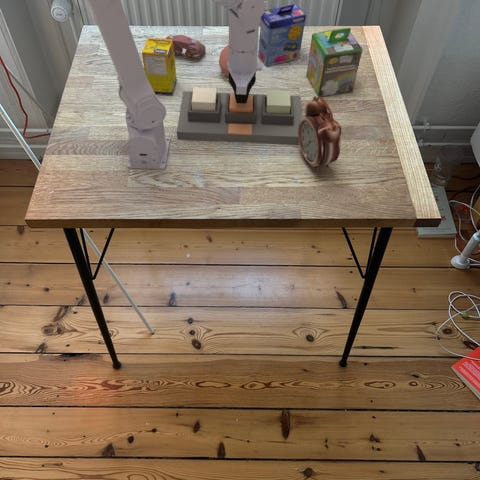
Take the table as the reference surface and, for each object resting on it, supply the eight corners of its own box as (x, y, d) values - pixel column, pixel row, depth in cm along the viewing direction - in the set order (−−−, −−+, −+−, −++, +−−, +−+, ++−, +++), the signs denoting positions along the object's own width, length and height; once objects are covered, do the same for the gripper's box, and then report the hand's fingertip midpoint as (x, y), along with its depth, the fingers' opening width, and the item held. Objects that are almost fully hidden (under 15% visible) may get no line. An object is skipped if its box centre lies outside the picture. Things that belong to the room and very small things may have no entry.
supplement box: (176, 80, 122) (173, 38, 114) (172, 95, 119) (168, 54, 110) (152, 78, 123) (147, 36, 114) (147, 93, 119) (141, 51, 110)
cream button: (215, 114, 110) (215, 102, 107) (192, 113, 110) (191, 101, 107) (216, 99, 113) (216, 88, 110) (194, 98, 113) (193, 87, 110)
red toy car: (166, 57, 131) (159, 42, 124) (171, 42, 131) (164, 25, 125) (202, 65, 129) (197, 49, 122) (207, 49, 130) (203, 33, 123)
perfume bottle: (230, 88, 121) (231, 42, 112) (212, 72, 125) (211, 26, 115) (256, 77, 124) (259, 31, 114) (238, 61, 128) (239, 16, 118)
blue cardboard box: (266, 68, 126) (270, 12, 115) (256, 56, 129) (260, 0, 118) (301, 59, 129) (308, 3, 118) (290, 47, 132) (297, -8, 121)
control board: (301, 144, 110) (304, 127, 106) (177, 138, 110) (175, 122, 106) (299, 103, 118) (301, 86, 115) (183, 98, 118) (182, 81, 115)
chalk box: (339, 70, 127) (351, 13, 115) (353, 92, 121) (367, 35, 110) (304, 75, 125) (313, 17, 113) (317, 97, 120) (327, 40, 108)
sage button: (289, 117, 110) (290, 105, 107) (266, 116, 110) (267, 104, 107) (288, 102, 113) (289, 91, 110) (266, 101, 113) (267, 90, 110)
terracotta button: (251, 120, 111) (252, 109, 108) (229, 119, 111) (229, 108, 108) (252, 105, 114) (253, 94, 112) (230, 104, 114) (230, 93, 111)
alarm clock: (293, 146, 109) (302, 88, 97) (313, 141, 111) (324, 83, 99) (315, 181, 103) (327, 123, 91) (336, 175, 104) (351, 117, 93)
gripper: (263, 67, 95) (259, 124, 106) (263, 25, 104) (260, 81, 114) (225, 65, 95) (225, 122, 106) (229, 23, 104) (228, 80, 114)
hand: (241, 101), depth 110 cm, fingers closed, pressing on terracotta button
